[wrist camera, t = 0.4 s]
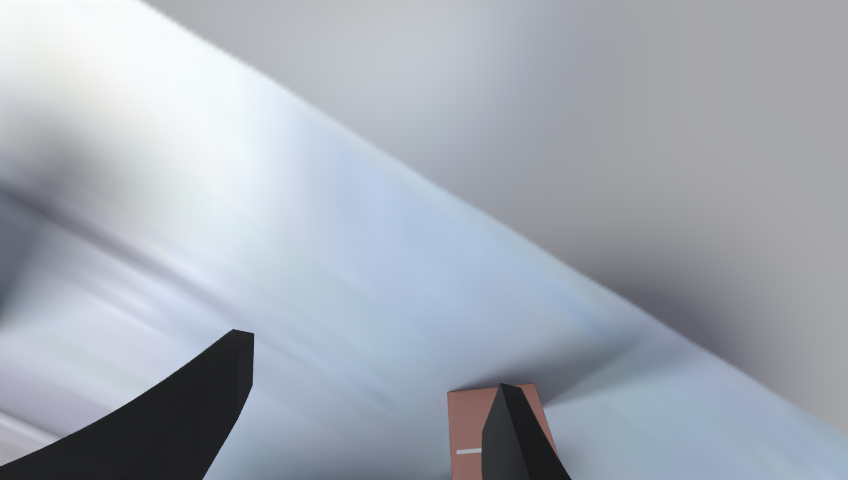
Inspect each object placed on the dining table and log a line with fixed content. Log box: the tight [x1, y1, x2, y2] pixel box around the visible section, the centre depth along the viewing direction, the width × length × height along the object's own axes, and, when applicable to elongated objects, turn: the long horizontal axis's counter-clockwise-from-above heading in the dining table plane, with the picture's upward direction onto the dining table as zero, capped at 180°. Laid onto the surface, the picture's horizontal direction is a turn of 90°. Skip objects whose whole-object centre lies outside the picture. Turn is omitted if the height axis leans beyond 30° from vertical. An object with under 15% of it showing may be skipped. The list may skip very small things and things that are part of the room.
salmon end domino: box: [447, 383, 559, 480], centre depth 23 cm, size 2×5×8 cm, turn 98°
